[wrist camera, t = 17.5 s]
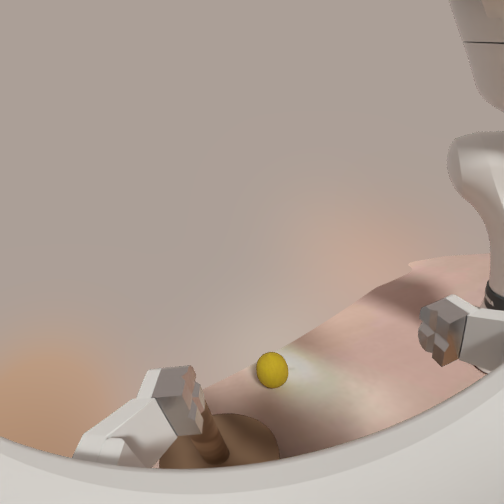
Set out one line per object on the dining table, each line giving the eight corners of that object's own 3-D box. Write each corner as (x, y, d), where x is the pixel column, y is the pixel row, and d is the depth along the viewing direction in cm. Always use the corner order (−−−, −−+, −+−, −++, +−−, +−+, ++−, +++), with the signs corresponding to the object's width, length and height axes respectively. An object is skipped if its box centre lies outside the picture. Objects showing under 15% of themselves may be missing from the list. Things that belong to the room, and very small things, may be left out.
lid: (220, 404, 40) (198, 345, 37) (304, 444, 29) (293, 382, 26) (142, 459, 29) (101, 403, 26) (216, 528, 18) (171, 486, 15)
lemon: (256, 384, 49) (247, 351, 47) (282, 373, 51) (276, 340, 49) (268, 401, 44) (259, 367, 42) (296, 388, 46) (290, 354, 44)
